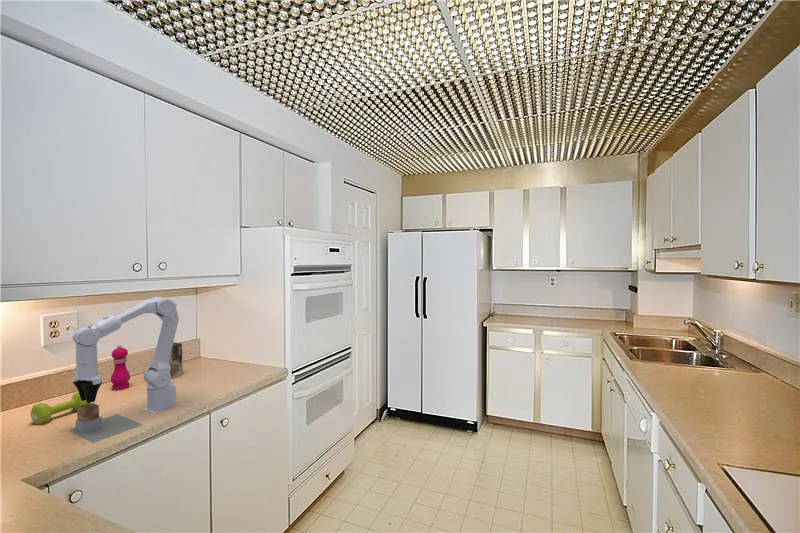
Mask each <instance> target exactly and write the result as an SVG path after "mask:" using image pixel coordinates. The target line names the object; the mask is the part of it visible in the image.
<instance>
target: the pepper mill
mask: <svg viewBox="0 0 800 533" xmlns="http://www.w3.org/2000/svg"><path fill="white" fill-rule="evenodd" d="M128 355H129V351H128V349H127V348H125V347H123V345H122V344H117V346H116V348H115V349H113V350H112V352H111V357H112V358H113V359H112V360H113V361H112V363H114V369H113V372H112V373H111V376H110V383H111V384H112V386H111V389H112V391H122V390H126V389H128V388H129V387H130V382H129V381H130V380H131V374H130V372H129V371H128V369H127V365H126V363H127V361H128V358H127V356H128Z"/></svg>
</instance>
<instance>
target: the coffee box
mask: <svg viewBox="0 0 800 533" xmlns="http://www.w3.org/2000/svg"><path fill="white" fill-rule="evenodd" d="M169 365H170V367H171V370H170V374H171V380H173V379H175V378H177V377H180V376H182V375H184V373H183V372H184V371H183V366H184V365H183V344H182V343H181V342H173V346H172V350H171V354H170V358H169Z"/></svg>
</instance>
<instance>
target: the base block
mask: <svg viewBox="0 0 800 533" xmlns="http://www.w3.org/2000/svg"><path fill="white" fill-rule="evenodd" d="M102 419H103V417H102V416H99V418H97V419H94V420H91V421H88V422H85V423H83V422H81V421H78V420H77V419H75V428H76V430H77V431H79V432H80V433H82V434H84V433H87V432H90V431H93V430H96V429H99V428H102Z"/></svg>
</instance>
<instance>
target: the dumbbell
mask: <svg viewBox="0 0 800 533" xmlns="http://www.w3.org/2000/svg"><path fill="white" fill-rule="evenodd" d="M87 404H90V403H87V402H86V400H85V401H82V400H81V398H80V395H79V392H78V391H77V392H74V393H73V394H72V396H71V399H70V400H69V401H65V402H61V403H57V404H55V405H52V406H50V405H49V404H47V403H44V402H40V403H36V404H35V403H34V405H33V406H32V407H31V411H30V417H31V420H32V422H33V424H35V425H44V424H46V423H49V422H50V420H51V418H52V416H53V415H55V414H58V413H61V412H64V411H68V410H70V409H73V410H74V411H76V412H77V407H80V406H83V405H87Z"/></svg>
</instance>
